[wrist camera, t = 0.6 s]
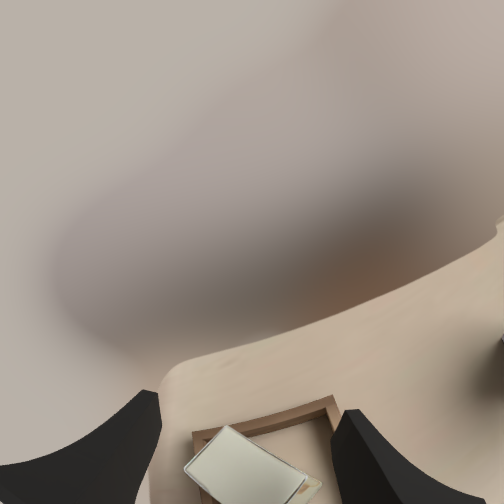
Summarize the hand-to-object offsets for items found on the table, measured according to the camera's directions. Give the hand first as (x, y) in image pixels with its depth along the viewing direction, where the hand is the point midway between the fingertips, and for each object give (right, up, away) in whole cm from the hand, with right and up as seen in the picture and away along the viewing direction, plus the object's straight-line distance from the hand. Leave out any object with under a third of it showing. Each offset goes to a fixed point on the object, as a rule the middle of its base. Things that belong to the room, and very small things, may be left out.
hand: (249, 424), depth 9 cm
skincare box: (+3, -15, +9) cm, 18 cm away
